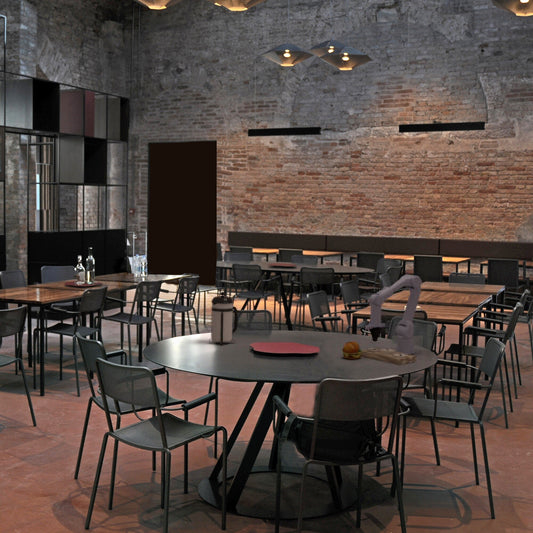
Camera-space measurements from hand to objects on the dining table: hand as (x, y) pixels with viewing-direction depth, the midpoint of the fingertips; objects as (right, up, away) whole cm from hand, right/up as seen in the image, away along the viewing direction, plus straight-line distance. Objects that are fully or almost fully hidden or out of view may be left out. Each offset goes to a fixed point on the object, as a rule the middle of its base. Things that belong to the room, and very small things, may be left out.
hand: (374, 341), depth 404 cm
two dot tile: (+6, -7, -6) cm, 11 cm away
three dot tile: (+12, -9, -13) cm, 19 cm away
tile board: (+6, -9, -6) cm, 12 cm away
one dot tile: (0, -7, +1) cm, 7 cm away
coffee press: (-85, -4, +27) cm, 89 cm away
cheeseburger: (-13, -9, -6) cm, 17 cm away
